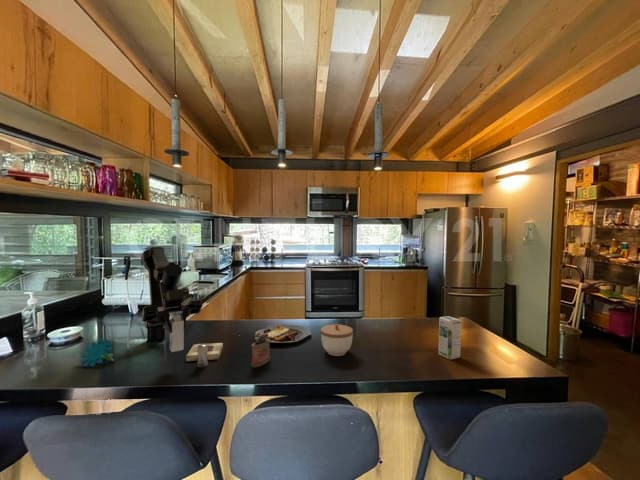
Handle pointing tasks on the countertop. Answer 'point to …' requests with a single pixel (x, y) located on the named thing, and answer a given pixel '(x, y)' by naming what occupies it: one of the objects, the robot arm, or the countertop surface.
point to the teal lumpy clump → (97, 353)
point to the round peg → (202, 355)
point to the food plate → (283, 333)
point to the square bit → (177, 333)
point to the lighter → (260, 350)
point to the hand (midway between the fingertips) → (177, 331)
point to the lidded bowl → (336, 339)
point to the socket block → (212, 354)
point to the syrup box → (449, 337)
